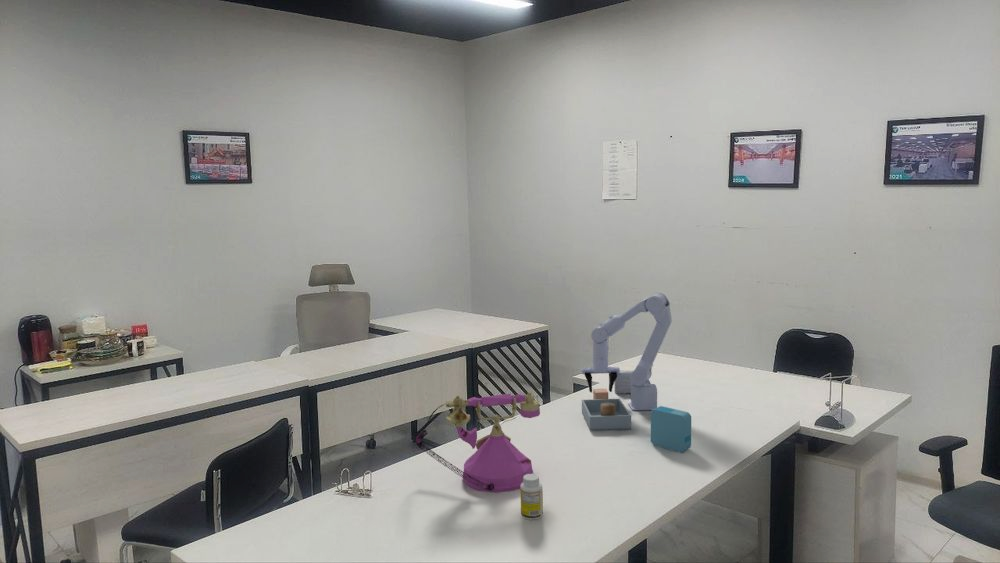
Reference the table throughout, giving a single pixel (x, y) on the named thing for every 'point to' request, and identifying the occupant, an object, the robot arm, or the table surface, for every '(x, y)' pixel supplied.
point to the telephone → (490, 444)
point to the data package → (671, 429)
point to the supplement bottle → (531, 497)
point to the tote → (603, 423)
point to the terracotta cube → (600, 394)
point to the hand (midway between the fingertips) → (600, 391)
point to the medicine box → (623, 382)
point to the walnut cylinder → (607, 409)
